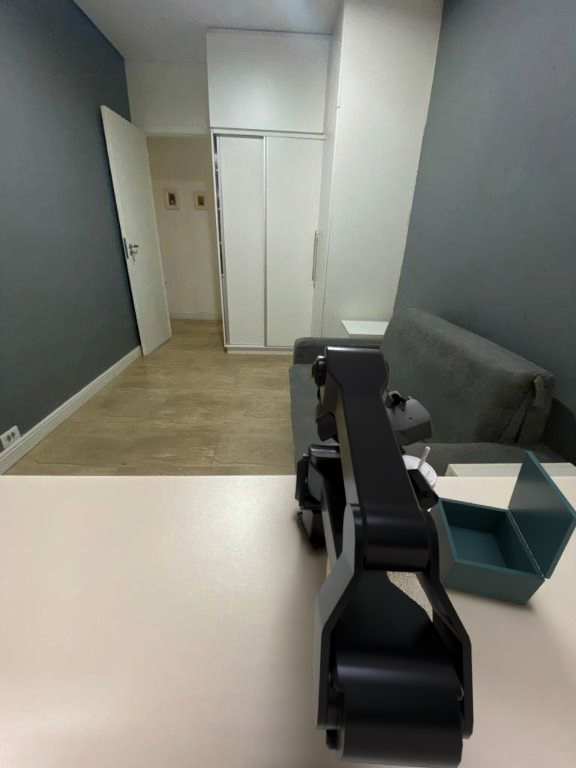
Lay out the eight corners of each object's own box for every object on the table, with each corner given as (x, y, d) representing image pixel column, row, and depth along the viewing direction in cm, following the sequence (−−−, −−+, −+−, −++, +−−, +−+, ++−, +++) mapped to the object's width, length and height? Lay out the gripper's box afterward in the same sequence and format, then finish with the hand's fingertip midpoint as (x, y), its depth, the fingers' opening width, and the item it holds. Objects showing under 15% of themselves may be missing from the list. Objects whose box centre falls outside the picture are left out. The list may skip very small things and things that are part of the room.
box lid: (574, 517, 31) (581, 517, 31) (525, 450, 40) (531, 450, 40) (544, 578, 36) (550, 579, 36) (507, 507, 45) (511, 508, 45)
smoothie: (424, 530, 48) (458, 464, 41) (385, 531, 47) (413, 464, 40) (406, 496, 53) (433, 433, 46) (371, 497, 52) (393, 432, 45)
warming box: (440, 586, 40) (454, 561, 38) (425, 520, 49) (435, 496, 46) (525, 605, 39) (545, 580, 36) (493, 533, 48) (508, 509, 45)
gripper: (449, 437, 30) (503, 504, 37) (375, 357, 46) (423, 415, 53) (359, 499, 33) (425, 550, 40) (318, 403, 49) (371, 452, 56)
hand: (410, 482), depth 47 cm, fingers open, 8 cm apart
